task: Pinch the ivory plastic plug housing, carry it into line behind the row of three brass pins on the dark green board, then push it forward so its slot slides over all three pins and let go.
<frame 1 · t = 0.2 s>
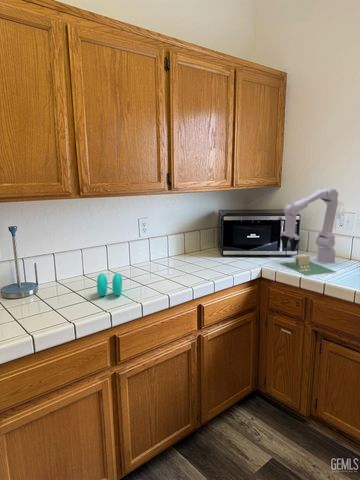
hand: (288, 249, 193), 10 cm above the countertop, fingers open, 7 cm apart
donuts: (110, 295, 150), on the countertop
header board: (306, 268, 190), on the countertop
plug housing: (302, 264, 197), point 1 cm above the countertop, touching header board
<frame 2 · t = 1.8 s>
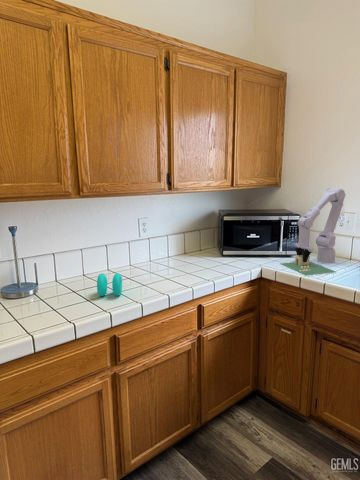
hand: (302, 261, 196), 2 cm above the countertop, fingers closed on plug housing, 4 cm apart
plug housing: (302, 264, 197), point 1 cm above the countertop, touching gripper, header board
everything else where it was.
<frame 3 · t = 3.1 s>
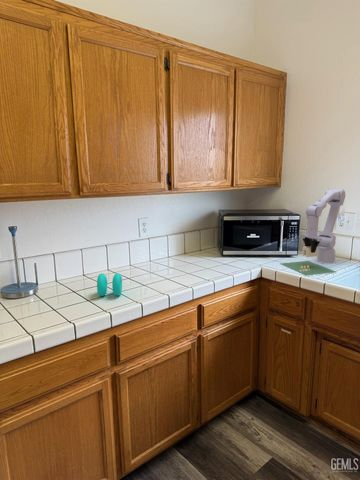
hand: (310, 251, 190), 9 cm above the countertop, fingers closed on plug housing, 4 cm apart
plug housing: (309, 255, 190), point 7 cm above the countertop, touching gripper
everything else where it was.
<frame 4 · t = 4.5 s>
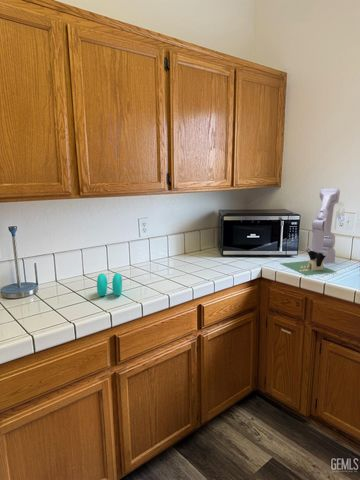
hand: (315, 265, 186), 3 cm above the countertop, fingers closed on plug housing, 4 cm apart
plug housing: (315, 269, 187), point 1 cm above the countertop, touching gripper
everything else where it was.
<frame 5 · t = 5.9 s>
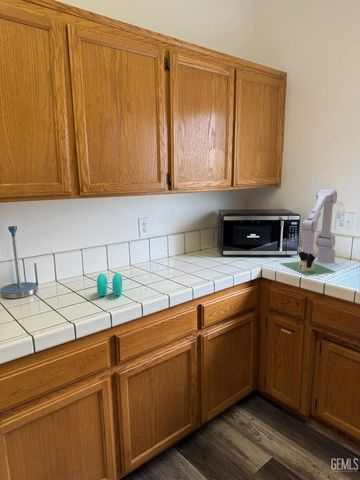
hand: (306, 266, 184), 3 cm above the countertop, fingers closed on plug housing, 4 cm apart
plug housing: (305, 270, 185), point 1 cm above the countertop, touching gripper, header board
everything else where it was.
when the fingers open (3 cm above the countertop, at t = 7.0 s): plug housing stays where it is, resting on header board.
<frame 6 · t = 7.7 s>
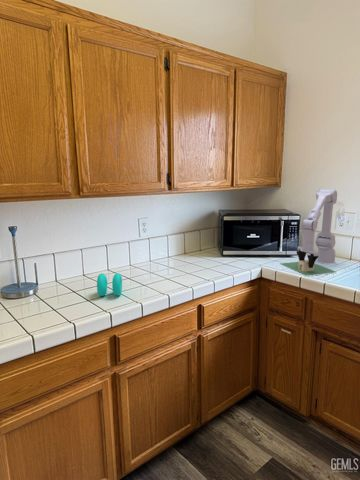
hand: (306, 265, 184), 3 cm above the countertop, fingers open, 7 cm apart
plug housing: (305, 270, 185), point 1 cm above the countertop, touching header board
everything else where it was.
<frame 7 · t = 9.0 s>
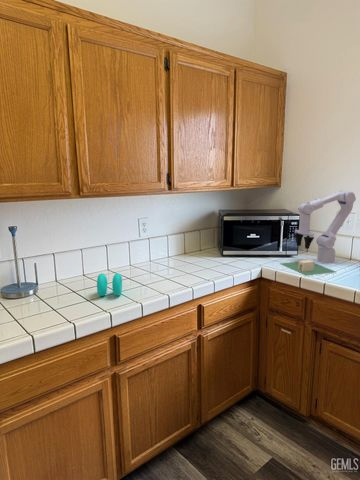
hand: (302, 247, 198), 10 cm above the countertop, fingers open, 7 cm apart
nothing on the countertop moved.
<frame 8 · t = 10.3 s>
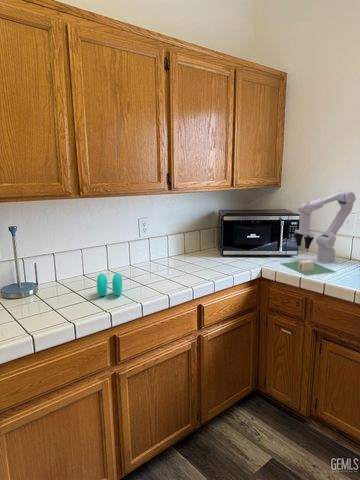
hand: (302, 247, 198), 10 cm above the countertop, fingers open, 7 cm apart
nothing on the countertop moved.
at the end: plug housing 0.2 cm from the target spot, point 0.6 cm above the countertop; plug housing tilted 0°; the gripper is holding nothing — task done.
